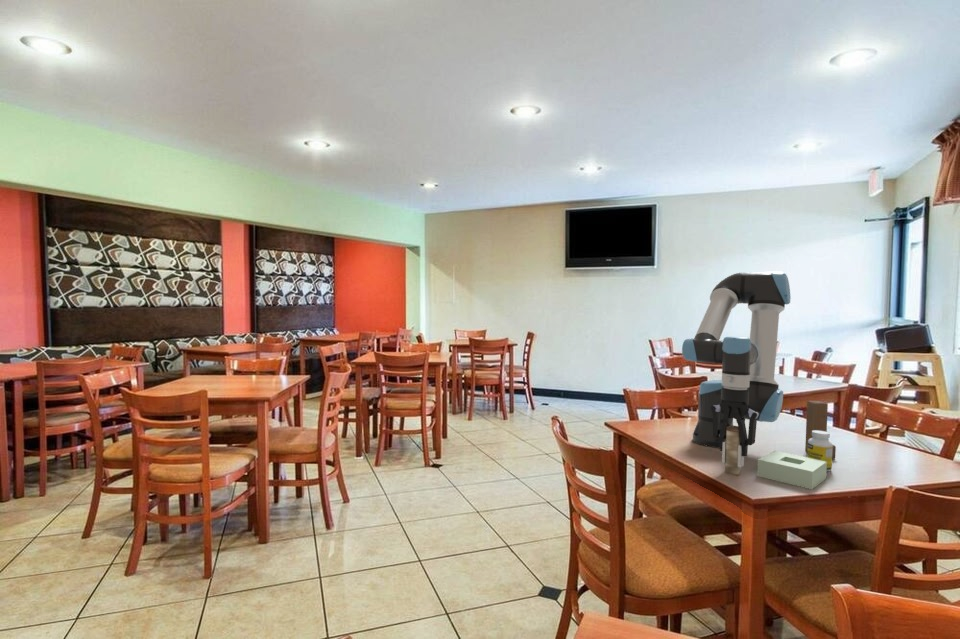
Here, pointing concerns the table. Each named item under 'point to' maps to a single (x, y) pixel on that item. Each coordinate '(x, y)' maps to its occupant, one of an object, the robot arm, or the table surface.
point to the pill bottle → (820, 447)
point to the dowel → (732, 450)
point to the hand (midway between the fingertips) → (732, 464)
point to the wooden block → (816, 420)
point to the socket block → (792, 469)
